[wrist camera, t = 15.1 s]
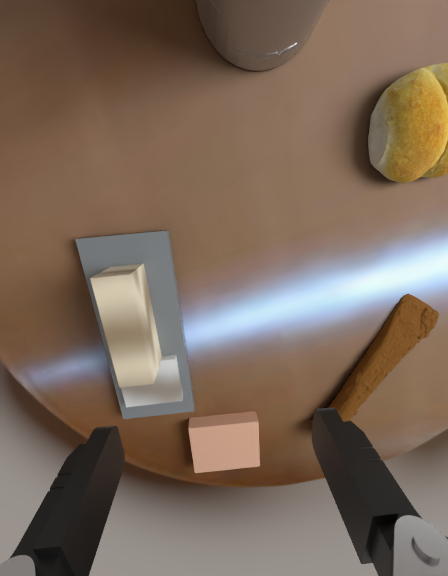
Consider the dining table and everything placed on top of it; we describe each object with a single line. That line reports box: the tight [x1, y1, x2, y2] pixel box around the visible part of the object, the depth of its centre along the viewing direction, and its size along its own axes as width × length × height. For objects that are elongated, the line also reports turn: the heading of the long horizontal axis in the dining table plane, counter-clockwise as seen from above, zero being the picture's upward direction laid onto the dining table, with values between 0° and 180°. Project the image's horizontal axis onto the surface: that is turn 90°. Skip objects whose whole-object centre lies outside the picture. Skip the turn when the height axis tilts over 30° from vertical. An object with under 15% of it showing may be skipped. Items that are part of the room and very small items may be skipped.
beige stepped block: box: [90, 264, 183, 407], centre depth 23 cm, size 15×6×4 cm, turn 5°
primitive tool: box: [311, 294, 439, 427], centre depth 27 cm, size 19×6×4 cm, turn 151°
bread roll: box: [368, 63, 448, 183], centre depth 20 cm, size 8×9×4 cm
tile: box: [188, 411, 260, 473], centre depth 30 cm, size 2×8×7 cm
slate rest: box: [75, 230, 195, 419], centre depth 25 cm, size 20×8×1 cm, turn 5°
